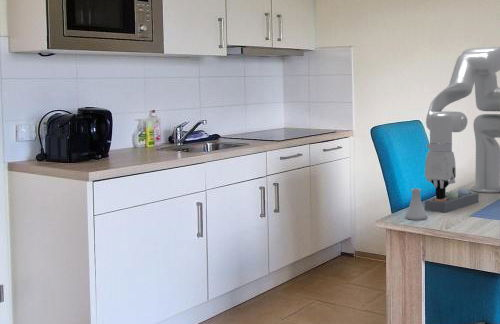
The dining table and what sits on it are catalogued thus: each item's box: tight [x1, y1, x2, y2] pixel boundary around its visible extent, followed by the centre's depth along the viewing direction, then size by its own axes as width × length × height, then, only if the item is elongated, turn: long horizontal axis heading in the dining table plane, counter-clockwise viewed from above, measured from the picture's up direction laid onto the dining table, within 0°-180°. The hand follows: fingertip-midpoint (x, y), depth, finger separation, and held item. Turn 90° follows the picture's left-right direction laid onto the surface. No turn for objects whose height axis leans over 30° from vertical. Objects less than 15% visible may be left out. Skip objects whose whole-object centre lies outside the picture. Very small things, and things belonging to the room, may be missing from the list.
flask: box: [405, 188, 428, 221], centre depth 210 cm, size 7×7×10 cm
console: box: [424, 190, 480, 213], centre depth 228 cm, size 24×8×4 cm, turn 132°
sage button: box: [446, 191, 458, 198], centre depth 228 cm, size 4×4×3 cm
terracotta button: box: [434, 197, 447, 202], centre depth 222 cm, size 4×4×3 cm
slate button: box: [457, 188, 470, 195], centre depth 233 cm, size 4×4×3 cm
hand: (440, 198), depth 222 cm, fingers closed
